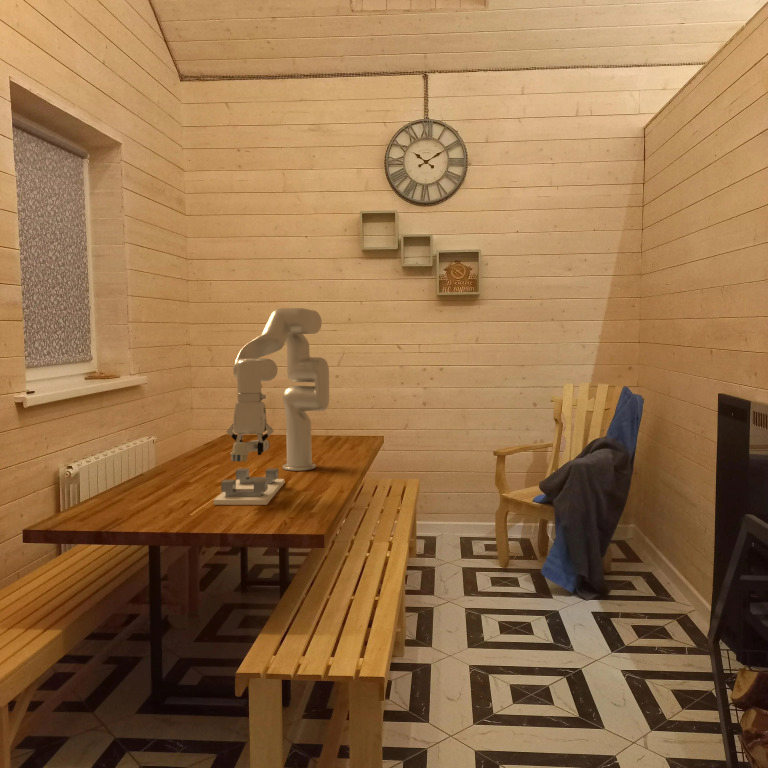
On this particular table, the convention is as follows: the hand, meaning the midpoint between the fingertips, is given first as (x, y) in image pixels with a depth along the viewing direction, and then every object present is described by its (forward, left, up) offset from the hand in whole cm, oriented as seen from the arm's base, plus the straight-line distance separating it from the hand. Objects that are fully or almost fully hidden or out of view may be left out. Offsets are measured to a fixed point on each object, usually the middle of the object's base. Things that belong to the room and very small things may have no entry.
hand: (250, 454), depth 219 cm
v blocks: (0, 0, -11) cm, 11 cm away
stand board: (0, 0, -13) cm, 13 cm away
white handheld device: (0, 0, -1) cm, 1 cm away
